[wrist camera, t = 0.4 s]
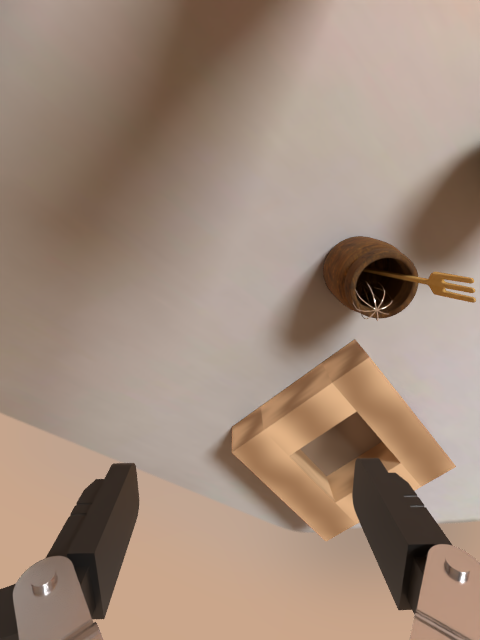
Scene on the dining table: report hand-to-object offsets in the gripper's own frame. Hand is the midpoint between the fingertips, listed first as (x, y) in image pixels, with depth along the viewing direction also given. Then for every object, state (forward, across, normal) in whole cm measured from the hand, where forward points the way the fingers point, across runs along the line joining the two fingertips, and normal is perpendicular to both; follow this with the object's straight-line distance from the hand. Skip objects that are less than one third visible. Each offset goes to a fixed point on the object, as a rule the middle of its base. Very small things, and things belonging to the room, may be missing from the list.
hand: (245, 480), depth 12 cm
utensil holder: (+21, -11, -5) cm, 24 cm away
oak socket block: (+22, -11, +13) cm, 28 cm away
